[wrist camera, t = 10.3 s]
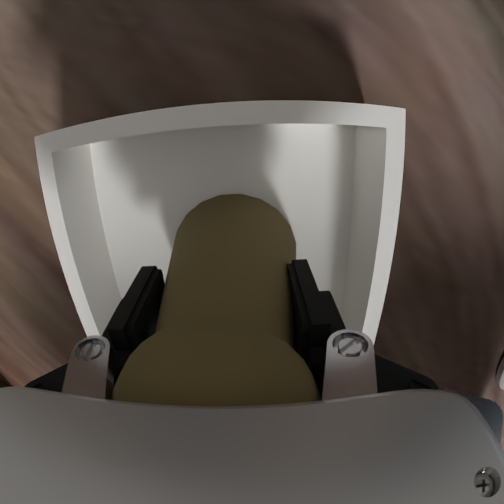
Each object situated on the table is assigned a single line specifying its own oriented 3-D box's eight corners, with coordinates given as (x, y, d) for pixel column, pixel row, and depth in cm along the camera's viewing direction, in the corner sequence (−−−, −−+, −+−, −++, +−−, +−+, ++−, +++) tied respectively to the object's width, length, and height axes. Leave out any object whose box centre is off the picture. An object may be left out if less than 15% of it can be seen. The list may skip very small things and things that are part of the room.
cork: (150, 232, 15) (31, 420, 5) (258, 169, 13) (272, 349, 4) (216, 320, 17) (189, 515, 7) (316, 273, 16) (378, 480, 6)
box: (365, 107, 13) (405, 108, 9) (344, 341, 19) (361, 386, 15) (79, 127, 13) (34, 136, 9) (130, 348, 19) (114, 393, 15)
